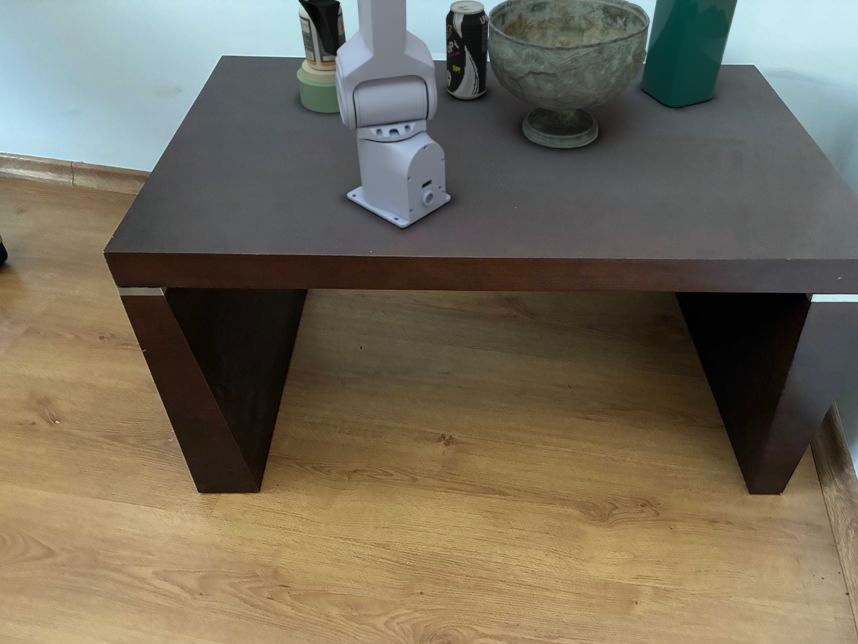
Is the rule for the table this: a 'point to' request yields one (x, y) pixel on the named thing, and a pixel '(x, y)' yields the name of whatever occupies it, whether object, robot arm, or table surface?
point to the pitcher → (686, 49)
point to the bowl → (566, 61)
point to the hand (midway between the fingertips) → (354, 44)
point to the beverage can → (466, 49)
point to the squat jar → (317, 89)
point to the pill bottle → (318, 42)
